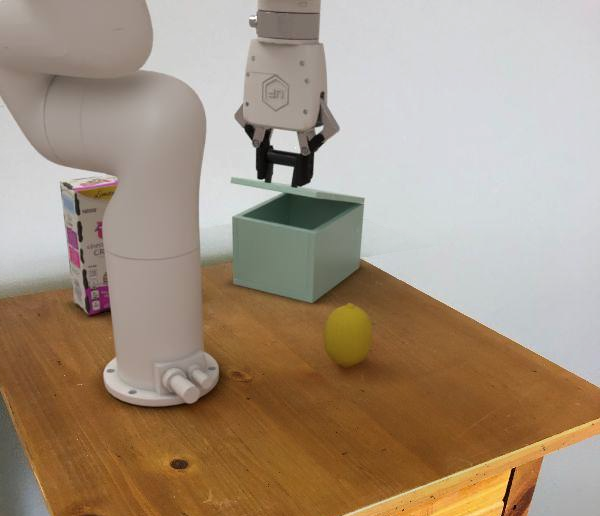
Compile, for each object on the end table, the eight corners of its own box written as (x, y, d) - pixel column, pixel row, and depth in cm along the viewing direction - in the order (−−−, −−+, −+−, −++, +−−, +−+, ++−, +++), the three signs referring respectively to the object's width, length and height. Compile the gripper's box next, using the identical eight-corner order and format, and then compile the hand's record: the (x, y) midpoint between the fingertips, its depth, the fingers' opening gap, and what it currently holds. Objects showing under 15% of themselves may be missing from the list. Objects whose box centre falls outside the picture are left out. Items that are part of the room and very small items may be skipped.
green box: (312, 303, 102) (315, 233, 97) (233, 284, 107) (231, 216, 102) (359, 267, 114) (364, 203, 109) (286, 252, 119) (287, 190, 114)
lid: (315, 198, 95) (322, 156, 93) (230, 182, 100) (235, 142, 98) (364, 203, 109) (370, 167, 108) (287, 189, 114) (292, 155, 113)
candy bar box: (89, 317, 96) (73, 190, 88) (73, 304, 100) (56, 180, 91) (166, 298, 102) (158, 177, 94) (149, 286, 106) (139, 168, 97)
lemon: (332, 352, 90) (335, 290, 86) (376, 362, 88) (381, 299, 84) (314, 372, 86) (317, 308, 82) (360, 383, 84) (365, 317, 80)
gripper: (211, 24, 91) (214, 177, 100) (339, 35, 84) (329, 197, 93) (244, 23, 97) (243, 166, 106) (365, 32, 90) (354, 185, 99)
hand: (284, 179), depth 99 cm, fingers closed on lid, 5 cm apart
